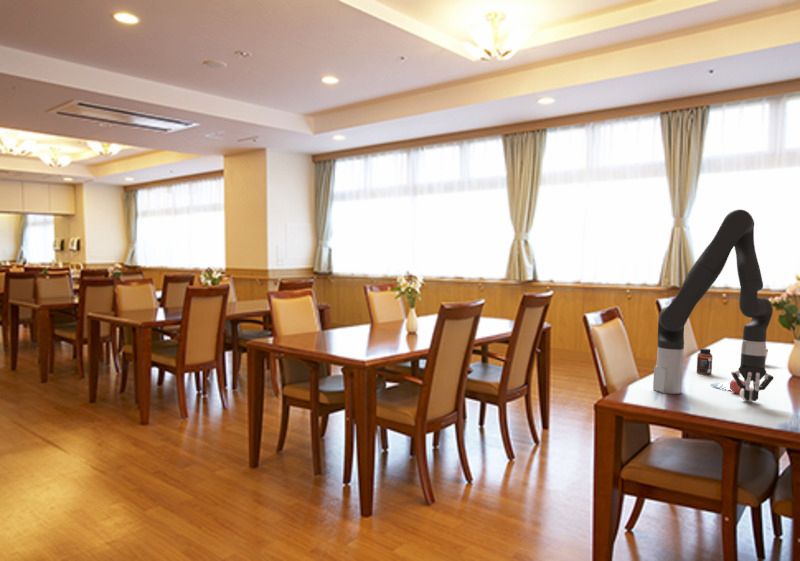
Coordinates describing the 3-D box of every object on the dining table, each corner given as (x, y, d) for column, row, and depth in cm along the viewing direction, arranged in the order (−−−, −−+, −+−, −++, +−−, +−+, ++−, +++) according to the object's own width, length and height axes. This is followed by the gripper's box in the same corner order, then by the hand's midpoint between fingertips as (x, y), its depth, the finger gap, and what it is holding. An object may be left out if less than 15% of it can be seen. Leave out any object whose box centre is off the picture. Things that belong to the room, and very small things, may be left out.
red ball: (737, 395, 214) (738, 381, 214) (725, 391, 219) (726, 377, 219) (748, 394, 215) (749, 380, 215) (737, 391, 221) (738, 377, 220)
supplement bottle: (713, 375, 248) (714, 350, 247) (698, 374, 249) (700, 349, 249) (708, 372, 254) (710, 348, 253) (694, 371, 255) (696, 347, 254)
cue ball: (749, 401, 201) (749, 385, 202) (736, 400, 206) (736, 385, 207) (761, 402, 202) (760, 387, 204) (747, 402, 208) (747, 387, 209)
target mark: (730, 392, 217) (730, 392, 217) (702, 384, 231) (702, 383, 231) (759, 391, 221) (759, 390, 221) (730, 382, 234) (730, 382, 234)
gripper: (772, 352, 202) (769, 399, 203) (729, 349, 206) (726, 395, 207) (778, 356, 195) (775, 405, 196) (734, 353, 199) (731, 400, 200)
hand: (750, 400), depth 201 cm, fingers closed
